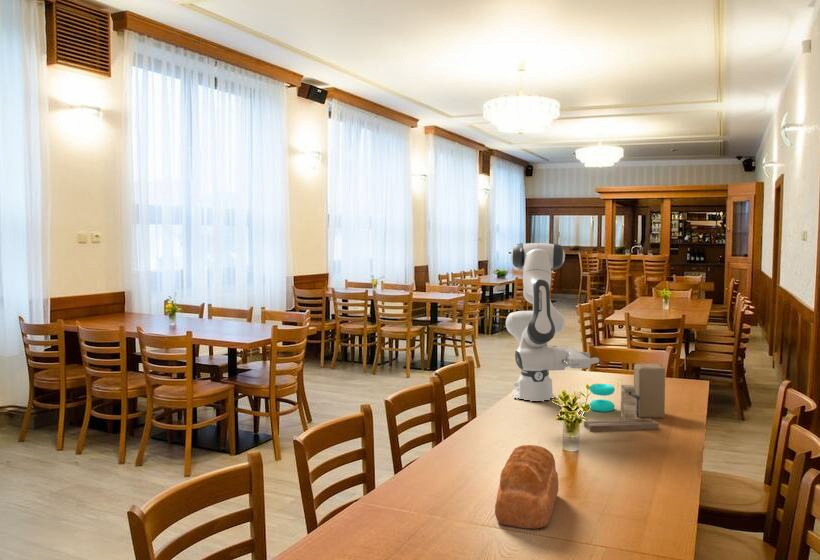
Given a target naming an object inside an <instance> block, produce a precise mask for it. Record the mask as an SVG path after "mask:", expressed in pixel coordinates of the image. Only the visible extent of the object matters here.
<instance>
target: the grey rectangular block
mask: <svg viewBox="0 0 820 560" xmlns="http://www.w3.org/2000/svg"><path fill="white" fill-rule="evenodd" d="M633 386H635V387H636V393H635V394H636V395H638V396H640V399H639V417H638V418H640V417H641V418H640V419H663V418H665V415H666V414H665V409H666V406H665V402H666V398H665V397H666V391H665V390H666V369H665V368H664V367H663V366H662V365H660V364H658V363H634V365H633ZM636 411H637V399H636V398H635V414H636Z"/></svg>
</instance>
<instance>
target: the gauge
mask: <svg viewBox="0 0 820 560" xmlns="http://www.w3.org/2000/svg"><path fill="white" fill-rule="evenodd" d="M620 392H621V393H620V394H621V395H620V420H626V419H636V418H640V417H639V399H640V396H638V395H636V394H635V393H636V387H635V386H634V384H621V385H620ZM635 398H636V399H637V411H636V413H635Z"/></svg>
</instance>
